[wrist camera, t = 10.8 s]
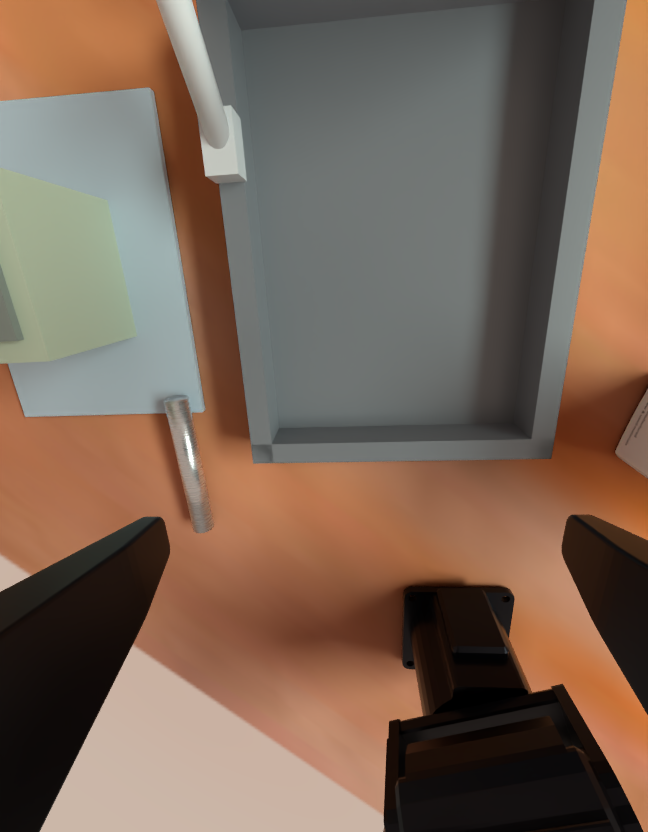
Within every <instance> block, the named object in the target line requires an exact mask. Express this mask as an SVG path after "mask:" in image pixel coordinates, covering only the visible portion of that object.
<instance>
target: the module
mask: <svg viewBox="0 0 648 832" xmlns="http://www.w3.org/2000/svg"><path fill="white" fill-rule="evenodd" d="M136 336H137V333H136V328H135V324H134V319H133V315H132V310H131V305H130V301H129V296H128V292H127V287H126V283H125V278H124V274H123V269H122V264H121V260H120V255H119V251H118V246H117V242H116V237H115V233H114V228H113V223H112V219H111V214H110V210H109V205H108V201H107V200H105V199H102V198H98V197H95V196H92V195H89V194H85V193H82V192H79V191H75V190H72V189H69V188H66V187H62V186H59V185H56V184H52V183H49V182H46V181H43V180H39V179H36V178H33V177H30V176H26V175H23V174H20V173H16V172H13V171H10V170H7V169H3V168H0V364H4V363H25V362H46V361H53V360H56V359H60V358H63V357H67V356H70V355H73V354H77V353H80V352H84V351H87V350H91V349H94V348H98V347H101V346H105V345H108V344H111V343H115V342H118V341H122V340H125V339H129V338H132V337H136Z"/></svg>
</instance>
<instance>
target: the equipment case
mask: <svg viewBox="0 0 648 832" xmlns="http://www.w3.org/2000/svg"><path fill="white" fill-rule="evenodd" d="M156 2H157V5H158V7H159V10H160V13H161V16H162V19H163V21H164V24H165V27H166V30H167V32H168V35H169V38H170V41H171V43H172V46H173V49H174V52H175V55H176V57H177V60H178V63H179V66H180V68H181V71H182V74H183V77H184V80H185V82H186V85H187V88H188V91H189V93H190V96H191V99H192V102H193V104H194V107H195V110H196V113H197V117H198V124H199V132H200V139H201V147H202V154H203V162H204V169H205V176H206V177H207V178H209V179H210V180H212V181H213V182H215V183H216V184H217V183H219V189H220V197H221V205H222V213H223V221H224V229H225V237H226V246H227V254H228V262H229V270H230V278H231V286H232V294H233V302H234V310H235V318H236V327H237V335H238V343H239V351H240V359H241V367H242V375H243V383H244V391H245V399H246V408H247V416H248V424H249V432H250V440H251V448H252V456H253V463H312V462H375V461H439V460H502V459H551V457H552V451H553V445H554V438H555V432H556V426H557V420H558V414H559V408H560V402H561V396H562V390H563V384H564V378H565V372H566V366H567V360H568V354H569V348H570V342H571V336H572V330H573V323H574V317H575V311H576V305H577V299H578V293H579V287H580V281H581V275H582V269H583V263H584V257H585V251H586V245H587V239H588V233H589V227H590V221H591V215H592V208H593V202H594V196H595V190H596V184H597V178H598V172H599V166H600V160H601V154H602V148H603V142H604V136H605V130H606V124H607V118H608V112H609V106H610V100H611V94H612V87H613V81H614V75H615V69H616V63H617V57H618V51H619V45H620V39H621V33H622V27H623V21H624V15H625V9H626V3H627V0H196V3H197V11H198V19H199V23H198V19H197V16H196V13H195V9H194V6H193V3H192V0H156Z"/></svg>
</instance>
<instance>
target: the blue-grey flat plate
mask: <svg viewBox="0 0 648 832" xmlns="http://www.w3.org/2000/svg"><path fill="white" fill-rule="evenodd" d="M0 168H3V169H7V170H10V171H13V172H16V173H20V174H23V175H26V176H30V177H33V178H36V179H39V180H43V181H46V182H49V183H52V184H56V185H59V186H62V187H66V188H69V189H72V190H75V191H79V192H82V193H85V194H89V195H92V196H95V197H98V198H102V199H105V200H107V201H108V205H109V210H110V214H111V219H112V223H113V228H114V233H115V237H116V242H117V246H118V251H119V255H120V260H121V264H122V269H123V274H124V278H125V283H126V287H127V292H128V296H129V301H130V305H131V310H132V315H133V319H134V324H135V328H136V333H137V336H136V337H132V338H129V339H125V340H122V341H118V342H115V343H111V344H108V345H105V346H101V347H98V348H94V349H91V350H87V351H84V352H80V353H77V354H73V355H70V356H67V357H63V358H60V359H56V360H53V361H46V362H25V363H8V366H9V369H10V372H11V375H12V378H13V381H14V385H15V388H16V391H17V394H18V397H19V400H20V403H21V406H22V409H23V412H24V415H25V417H40V416H78V415H116V414H154V413H166V410H165V405H164V399H166V398H168V397H170V396H175V395H187V396H188V397H189V402H190V407H191V412H203V411H205V405H204V398H203V392H202V386H201V380H200V374H199V367H198V361H197V355H196V349H195V343H194V337H193V330H192V324H191V318H190V312H189V306H188V300H187V293H186V287H185V281H184V275H183V269H182V262H181V256H180V250H179V244H178V238H177V232H176V225H175V219H174V213H173V207H172V201H171V194H170V188H169V182H168V176H167V170H166V164H165V157H164V151H163V145H162V139H161V133H160V126H159V120H158V114H157V108H156V102H155V96H154V91H152V90H151V89H150V88H138V89H127V90H117V91H106V92H95V93H84V94H73V95H63V96H52V97H41V98H30V99H19V100H8V101H0Z"/></svg>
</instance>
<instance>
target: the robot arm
mask: <svg viewBox="0 0 648 832" xmlns="http://www.w3.org/2000/svg"><path fill="white" fill-rule="evenodd" d="M169 554H170V544H169V539H168V535H167V530H166V526H165V522H164V520H163V519H162V518H161V517H143V518H141V519H139V520H137V521H135V522H133V523H131V524H129V525H127V526H125V527H123V528H122V529H120V530H118V531H116V532H114V533H112V534H110V535H108V536H106V537H104V538H102V539H101V540H99V541H97V542H95V543H93V544H91V545H89V546H87V547H85V548H83V549H81V550H79V551H78V552H76V553H74V554H72V555H70V556H68V557H66V558H64V559H62V560H60V561H58V562H57V563H55V564H53V565H51V566H49V567H47V568H45V569H43V570H41V571H39V572H37V573H36V574H34V575H32V576H30V577H28V578H26V579H24V580H22V581H20V582H18V583H16V584H15V585H13V586H11V587H9V588H7V589H5V590H3V591H1V592H0V832H40V830H41V827H42V825H43V824H44V822H45V820H46V818H47V816H48V814H49V811H50V809H51V807H52V805H53V803H54V801H55V799H56V797H57V795H58V793H59V791H60V789H61V787H62V785H63V783H64V781H65V779H66V777H67V775H68V773H69V771H70V769H71V767H72V765H73V763H74V761H75V759H76V757H77V755H78V753H79V751H80V749H81V747H82V745H83V743H84V741H85V739H86V737H87V735H88V733H89V731H90V729H91V727H92V725H93V723H94V721H95V719H96V717H97V715H98V713H99V711H100V709H101V707H102V705H103V703H104V701H105V699H106V697H107V695H108V693H109V691H110V689H111V687H112V685H113V683H114V681H115V679H116V677H117V675H118V673H119V671H120V669H121V667H122V665H123V663H124V661H125V659H126V657H127V655H128V653H129V651H130V649H131V647H132V645H133V643H134V641H135V639H136V637H137V635H138V633H139V631H140V629H141V627H142V624H143V622H144V620H145V618H146V616H147V613H148V611H149V608H150V606H151V603H152V600H153V598H154V595H155V592H156V590H157V587H158V584H159V582H160V579H161V576H162V574H163V571H164V569H165V566H166V563H167V561H168V558H169ZM562 555H563V558H564V561H565V563H566V565H567V567H568V569H569V571H570V573H571V576H572V578H573V580H574V582H575V584H576V586H577V588H578V591H579V593H580V595H581V597H582V599H583V601H584V603H585V606H586V608H587V610H588V612H589V614H590V616H591V618H592V620H593V622H594V624H595V626H596V628H597V630H598V631H599V633H600V635H601V637H602V639H603V640H604V642H605V644H606V645H607V647H608V649H609V650H610V652H611V654H612V655H613V657H614V659H615V660H616V662H617V664H618V666H619V667H620V669H621V671H622V672H623V674H624V676H625V677H626V679H627V681H628V682H629V684H630V686H631V688H632V689H633V691H634V693H635V694H636V696H637V698H638V699H639V701H640V703H641V704H642V706H643V708H644V709H645V711H646V713H647V715H648V540H646V539H643V538H641V537H639V536H637V535H635V534H632V533H630V532H628V531H626V530H624V529H621V528H619V527H617V526H615V525H613V524H610V523H608V522H606V521H604V520H602V519H599V518H597V517H595V516H593V515H571V516H569V517H568V519H567V521H566V526H565V531H564V536H563V542H562ZM410 595H414V596H412V597H411V596H410ZM504 596H506V597H504ZM513 606H514V595H513V593H512V592H511V590H510V589H508V588H491V587H408V588H406V589H405V590H404V593H403V629H402V663H403V666H404V667H405V668H407V669H415V670H416V676H417V682H418V688H419V694H420V700H421V706H422V712H423V716H422V717H417V718H412V719H408V720H403V721H401V720H400V719H397V720H393V721H389V738H388V739H387V752H386V776H385V800H384V831H383V832H643V830H642V828H641V825H640V823H639V821H638V819H637V817H636V815H635V813H634V811H633V809H632V807H631V805H630V803H629V801H628V799H627V797H626V795H625V793H624V791H623V789H622V787H621V785H620V783H619V781H618V779H617V777H616V775H615V773H614V772H613V770H612V768H611V766H610V764H609V763H608V761H607V759H606V757H605V756H604V754H603V752H602V751H601V749H600V747H599V745H598V744H597V742H596V740H595V739H594V737H593V735H592V733H591V732H590V730H589V728H588V727H587V725H586V723H585V721H584V720H583V718H582V716H581V715H580V713H579V711H578V709H577V708H576V706H575V704H574V703H573V701H572V699H571V697H570V696H569V694H568V692H567V691H566V689H565V687H564V685H563V684H560V685H555V686H551V688H552V689H548V690H543V691H538V692H534V693H532V691H531V688H530V686H529V684H528V682H527V679H526V677H525V675H524V672H523V670H522V668H521V665H520V663H519V661H518V659H517V656H516V654H515V652H514V649H513V647H512V645H511V643H510V640H509V633H510V626H511V619H512V613H513Z"/></svg>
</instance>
